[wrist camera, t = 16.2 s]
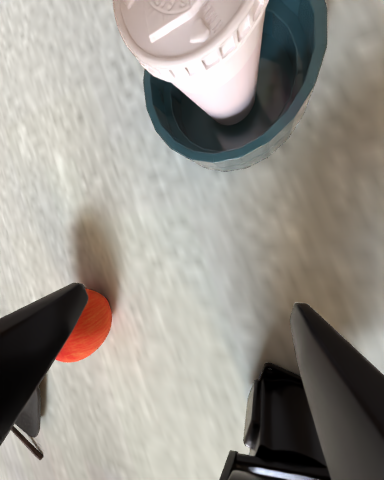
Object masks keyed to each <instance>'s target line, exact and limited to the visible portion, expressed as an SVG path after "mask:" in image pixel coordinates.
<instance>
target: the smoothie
mask: <svg viewBox="0 0 384 480" xmlns="http://www.w3.org/2000/svg"><path fill="white" fill-rule="evenodd" d="M268 1H269V0H113V8H114V14H115V19H116V23H117V26H118V29H119V32H120V34H121V37H122V39H123V41H124V42H125V44H126V46H127V47H128V49H129V50H130V51H131V52H132V53H133V54H134V56H135V57H136V58H137V59H138V61H139V63H140V64H141V66H143V67H144V68H145V69H146V70H147V71H148V72H149V73H150V74H152V75H153V76H154V77H157V78H159V79H162V80H165V81H167V82H171V83H172V84H173V85H174V86H176V87H177V88H178V89H180V90H181V91H182V92H183V93H184V94H185V95H186V96H188V97H189V98H190V99H191V100H192V101H193V102H195V103H196V104H197V105H198V106H199V107H200V108H201V109H203V110H204V111H205V112H206V113H207V114H208V115H210V116H211V117H212V118H213V119H214V120H215V121H216V122H218V123H220V124H222V125H233V124H236V123H238V122H240V121H241V120H243V119H244V118H245V117H246V116H247V115H248V114H249V112H250V111H251V109H252V107H253V104H254V101H255V94H256V85H257V76H258V67H259V59H260V50H261V41H262V32H263V23H264V17H265V8H266V6H267V4H268Z"/></svg>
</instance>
